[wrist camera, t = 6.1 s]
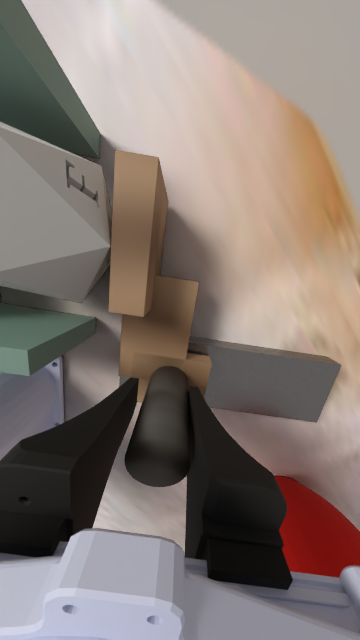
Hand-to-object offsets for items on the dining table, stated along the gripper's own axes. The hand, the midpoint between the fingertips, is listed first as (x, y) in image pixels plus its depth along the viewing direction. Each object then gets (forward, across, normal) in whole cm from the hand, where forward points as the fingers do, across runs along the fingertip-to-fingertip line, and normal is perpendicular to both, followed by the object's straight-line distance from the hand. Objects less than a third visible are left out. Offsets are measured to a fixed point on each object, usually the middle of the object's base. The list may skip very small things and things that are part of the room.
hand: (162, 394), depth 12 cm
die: (+4, +8, -10) cm, 13 cm away
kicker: (+4, 0, -6) cm, 7 cm away
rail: (+4, -5, 0) cm, 7 cm away
